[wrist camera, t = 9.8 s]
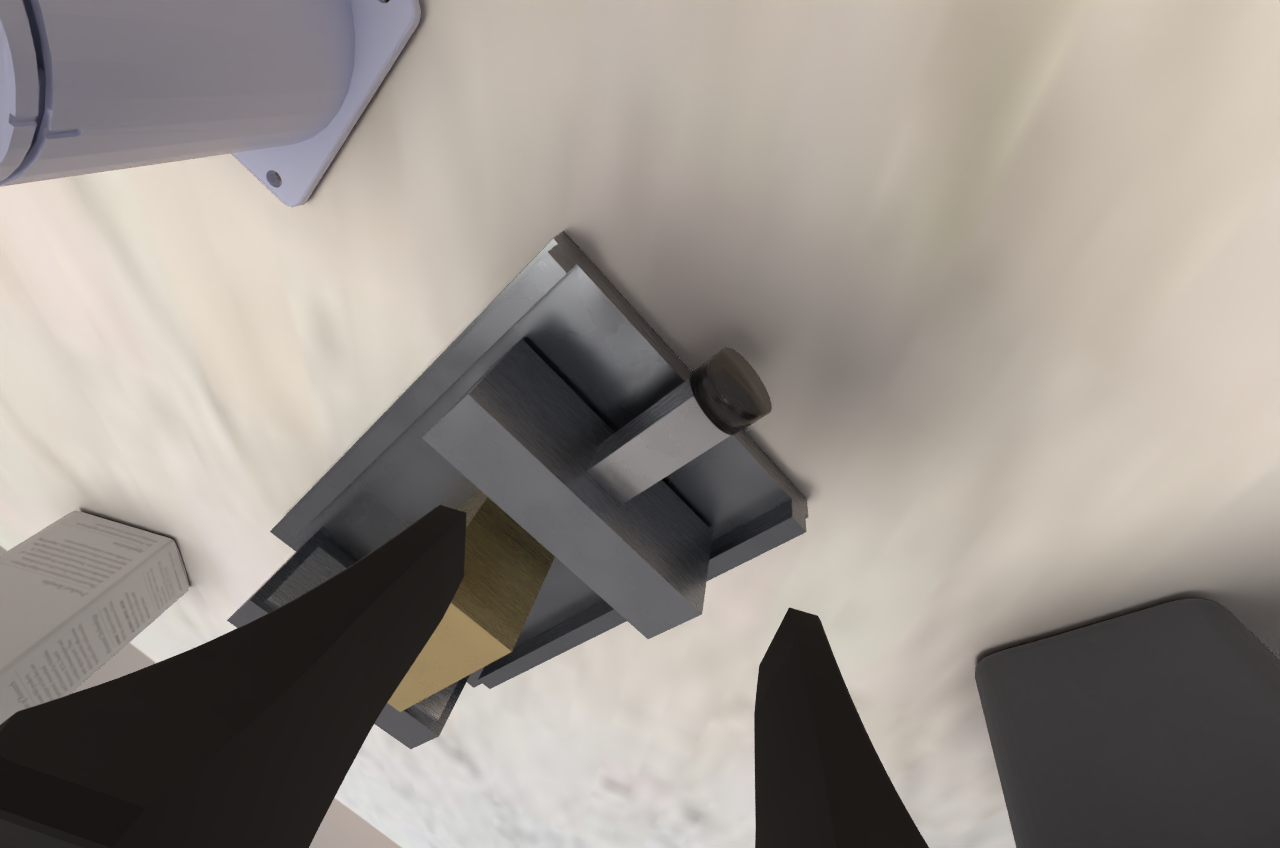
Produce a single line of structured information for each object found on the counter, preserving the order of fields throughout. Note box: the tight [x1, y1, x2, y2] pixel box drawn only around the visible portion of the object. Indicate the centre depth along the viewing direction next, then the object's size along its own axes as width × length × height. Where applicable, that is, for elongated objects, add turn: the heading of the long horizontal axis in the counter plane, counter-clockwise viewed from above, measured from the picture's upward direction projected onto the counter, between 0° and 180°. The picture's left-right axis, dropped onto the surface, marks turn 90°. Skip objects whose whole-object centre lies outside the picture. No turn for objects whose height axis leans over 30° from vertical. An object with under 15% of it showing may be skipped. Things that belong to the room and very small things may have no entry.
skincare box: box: [0, 511, 189, 725], centre depth 27 cm, size 6×4×12 cm
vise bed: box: [227, 231, 808, 749], centre depth 23 cm, size 13×21×5 cm, turn 133°
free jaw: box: [422, 339, 772, 639], centre depth 18 cm, size 10×8×4 cm
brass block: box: [387, 491, 555, 712], centre depth 22 cm, size 4×7×6 cm, turn 134°
